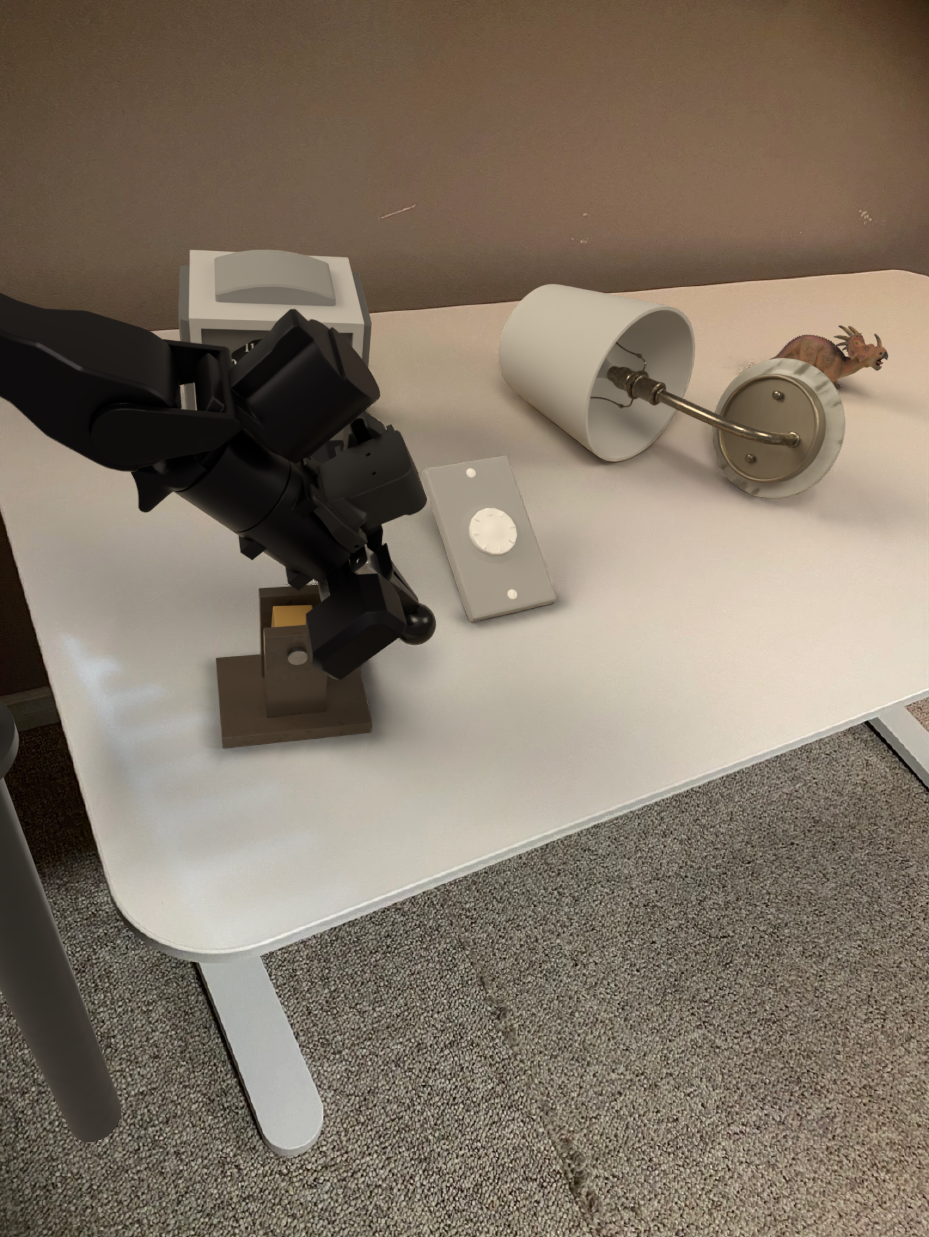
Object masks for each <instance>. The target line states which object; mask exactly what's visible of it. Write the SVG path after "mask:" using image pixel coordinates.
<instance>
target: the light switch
mask: <svg viewBox="0 0 929 1237" xmlns="http://www.w3.org/2000/svg"><path fill="white" fill-rule="evenodd" d="M420 477H421V480H422V484H423V487H424V490H425V493H426V496H427V499H428V501H429V504H430V506H431V510H432V513H433V516H434V519H435V522H436V525H437V528H438V531H439V534H440V537H441V540H442V543H443V546H444V549H445V552H446V555H447V559H448V561H449V564H450V567H451V570H452V571H451V572H452V574H453V577H454V580H455V583H456V586H457V589H458V592H459V594H460V598H461V601H462V604H463V608H464V609H465V613H466V617H467V620H468V622H469V623H476V622H477V623H478V622H481V621H485V620H489V619H494V618H497V617H501V616H505V615H510V614H513V613H514V614H515V613H518V612H522V611H526V610H530V609H534V608H539V607H544V606H547V605H552V604H553V603H554V602H555V601H557V599H558V597H557V594H556V591H555V588H554V585H553V582H552V579H551V576H550V574H549V570H548V569H547V568H548V567H547V565H546V562H545V559H544V557H543V554H542V550H541V549H540V546H539V543H538V542H539V541H538V540H537V537H536V534H535V531H534V529H533V525H532V522H531V519H530V517H529V514H528V510H527V508H526V505H525V502H524V499H523V497H522V494H521V491H520V488H519V485H518V483H517V480H516V476H515V474H514V471H513V468H512V466H511V462H510V459H509V457H508V456H507V455H499V456H493V457H488V458H481V459H475V460H468V461H462V462H456V463H451V464H445V465H438V466H433V467H432V466H431V467H426V468H424V469H423V470H422V471H421V475H420Z"/></svg>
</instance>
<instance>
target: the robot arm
mask: <svg viewBox="0 0 929 1237" xmlns="http://www.w3.org/2000/svg"><path fill="white" fill-rule="evenodd" d="M190 383H194V384H195V396H196V408H197V410H187V409H182V392H181V389H182V388H181V386H184V385H185V384H190ZM0 398H1V399H3V400H5V401H6V402H8V403H9V404H11V405H12V406H13V407H14V408H16V410H17V411H19V412H20V413H21V414H22V415H23V416H24V417H25V418H26V419H28V421H29V422H31V423H32V424H33V426H35V427H36V428H37V429H38V430H39V431H40V432H41V433H42V434H44V435H45V436H46V437H47V438H49V439H51V440H53V441H55V442H57V443H58V444H61V445H62V446H64V447H66V448H67V449H69V450H70V451H73V452H74V453H77V454H79V455H80V456H82V457H84V458H86V459H88V460H90V461H91V462H93V463H95V464H97V465H99V466H101V467H104V468H106V469H109V470H114V471H118V472H123V473H124V472H127V473H130V475H131V476H132V479H133V480H134V483H135V486H136V489H137V504H138V505H137V506H138V507H137V508H138V510H139V511H140V512H142V513H145V514H147V513H150V512H151V511H152V510H154V509H155V508H156V507H157V506H158V505H159V504H160V503H162V502H163V501H164V500H165V499H167V497H168V496H169V495H171V494H173V493H174V494H176V495H177V496H179V497H181V498H182V499H183V500H185V501H186V502H188V503H190V504H191V505H192V506H194V507H195V508H197V509H199V510H200V511H202V512H203V513H204V514H206V515H207V516H208V517H210V518H212V519H214V520H215V521H216V522H218V523H219V524H221V525H222V526H224V527H226V528H227V529H228V530H230V531H231V532H232V533H234V534H235V535H237V536H238V543H239V544H238V545H239V552H240V554H242V555H243V556H244V557H246V558H248V559H249V560H251V561H254V560H255V559H256V558H258V556H260V555H261V554H262V553H264V554H265V555H267V556H268V557H270V558H271V559H272V560H274V561H276V562H277V563H279V564H280V565H282V566H283V567H284V569H285V576H286V581H287V582H286V583H287V585H288V586H292V587H294V588H295V589H297V590H298V591H299V590H300V589H302V588H303V587H304V586H306V585H309V583H311V582H312V581H315V582H317V584H318V587H319V592H320V598H321V602H320V603H319V604H318V605H317V606H315V607H314V608H313V609H311V610H310V611H309V612H307V613H306V625H305V628H306V634H307V640H308V646H309V652H310V657H311V663H312V667H313V668H315V669H317V670H319V671H320V672H322V673H324V674H325V675H327V676H329V677H330V678H332V679H336V680H342V679H343V678H344V677H346V676H347V675H349V674H350V673H351V672H353V671H354V670H355V669H357V668H358V667H360V668H361V666H362V665H364V664H366V663H367V662H368V661H370V660H371V659H372V658H374V657H375V656H376V655H378V654H379V653H380V652H382V651H383V650H385V649H386V648H387V647H390V645H391V644H393V643H394V642H395V641H397V640H399V638H400V637H401V636H402V634H403V632H404V629H405V627H406V625H407V624H406V620H405V616H404V614H410V613H412V612H414V611H415V610H416V609H418V608H419V607H420V603H421V602H420V600H419V597H418V595H417V594H416V593H415V592H414V589H413V588H412V587H411V586H410V585H409V583H408V581H407V580H406V578H404V576H403V574H402V573H401V571H400V570H399V569H398V568H397V566H396V565H395V563H394V561H393V560H392V557H391V554H390V549H389V546H388V543H387V542H385V543H383V539H384V528H383V525H384V524H386V523H388V522H391V521H394V520H396V519H399V518H402V517H404V516H413V515H414V514H417V513H419V512H421V511H422V510H423V509H424V508H425V507H426V505H427V503H428V496H427V493H426V490H425V488H424V485H423V482H422V479H421V478H420V477H421V476H420V474H419V471H418V468H417V466H416V464H415V461H414V459H413V457H412V454H411V452H410V451H409V448H408V446H407V443H406V442H405V439H404V437H403V435H402V433H401V432H400V431H399V430H397V429H395V427H394V426H393V424H391V423H390V424H388V425H386V426H385V424H384V423H382V421H380V420H379V419H378V418H376V417H374V416H373V415H371V414H370V413H369V412H367V410H368V409H369V408H370V407H371V406H372V405H373V404H375V403H376V402H377V401H378V400H380V398H381V390H380V387H379V385H378V382H377V380H376V378H375V376H374V375H373V373H372V372H371V370H370V368H369V367H367V365H366V364H365V363H364V361H363V360H362V358H361V357H360V356H359V355H358V353H357V352H356V351H355V350H354V348H353V347H352V346H351V345H350V344H349V343H348V342H347V341H346V339H345V338H344V337H343V336H342V335H341V334H340V333H339V332H338V331H336V330H335V329H334V328H333V327H331V328H330V329H329V328H328V327H327V326H325V325H324V324H323V323H321V322H319V321H317V320H314V319H310V320H307V319H306V318H305V317H304V316H303V315H301V314H300V313H299V312H298V311H297V310H296V309H290V310H289V311H288V312H287V313H285V314H284V315H283V316H282V317H281V318H280V319H279V320H278V321H277V322H276V323H275V325H274V326H273V328H272V329H271V331H270V332H269V333H268V334H267V336H266V337H264V338H263V339H262V340H261V341H260V342H259V343H258V344H257V345H256V346H255V347H254V348H252V349H251V350H250V351H249V352H248V353H247V354H246V355H245V356H244V357H243V358H241V359H240V360H239V361H238V362H237V363H236V364H235V365H234V364H232V357H231V351H230V349H229V348H227V347H224V346H216V345H208V344H200V343H192V342H183V341H180V340H175V339H166V338H161V337H160V336H158V335H157V334H156V333H154V332H153V331H151V330H148V329H145V328H143V327H140V326H138V325H134V324H131V323H128V322H125V321H121V320H118V319H115V318H111V317H108V316H106V315H102V314H98V313H95V312H93V311H89V310H85V309H83V310H81V309H63V308H62V309H59V308H45V307H40V306H37V305H33V304H30V303H27V302H23V301H20V300H18V299H15V298H13V297H11V296H8V295H6V294H5V293H3V292H0ZM342 429H344V434H343V440H330V439H332V438H333V437H334V436H335V435H336V434H338V433H339V432H340V431H341V430H342Z"/></svg>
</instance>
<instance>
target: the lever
mask: <svg viewBox="0 0 929 1237" xmlns="http://www.w3.org/2000/svg"><path fill="white" fill-rule="evenodd" d="M419 603H420V607H419V608H418V609H416V610H415V611H414V612H412V613H410V614H404V616H405V620H406V624H407V625H406V627H405V629H404V632H403V634H402V636H401V637H400V638H398V640H400V641H401V642H403V643H404V644H406V645H410V646H421V645H423V644H425V643H427V642H428V641H430V640H431V639H432V637H433V636H434V634H435V632H436V628H437V618H436V616H435V613H434V612H433V610H432V609H431V608H430V607H429V606H428V605H426V604H424V603H421V602H419ZM311 609H313V608H312V605H297V606H273V611H272V624H271V627H282V626H295V625H306V613H307V612H309V611H310V610H311Z"/></svg>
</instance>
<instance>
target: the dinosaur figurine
mask: <svg viewBox="0 0 929 1237" xmlns="http://www.w3.org/2000/svg"><path fill="white" fill-rule="evenodd" d="M838 328H840V329H841V330H843V332H845V333H846V334H847V335H841V334H840V335H838V334H837V335H834V336H833V338H835V339H838V340H842V342H839V343H836V344H835V343H834V342H833V340H830V339H828V338H826V337H824V336H820V335H815V334H801V335H797V336H796V337H794V338H792V340H790V341H788V342H787V343H786V344H785V345H784V346H783V347H782V348H781V350H780V351H779V352H778V353H777V354H776V355H774V356H773V357H771V358H769V359H768V360H770V359H776V358H789V359H796V360H800V361H803V362H806V363H808V364H810V365H812V366H814V367H816V368H817V369H819V370H820V371H821V372H823V373H824V374H825V375H826V376H827V377H828V378H829V379H830V380H831V382H832V383H833V384H834V386H835V387H836V389H841V388H842V387H841V384H840V383H838V382H837V381H838V380H839V379H842V378H845V377H848V376H851V375H854V374H856V373H857V372H858V371H860V370H862V369H863V368H866V369H867V368H871V369H873V370H874V371H876V372H877V371H880V370H881V369H882V368H883V366H882V365H883V364H884V362H883V360H886V361H888V360H889V353H888V351H887V349H886V348H885V347H884V346H883V343H882V340H881V337H880V336H879V335H878V334H877V333H874V334H873V336H874V337H875V339H876V346H875V344H874V343H867V344H866V341H865V338H864V336H863V335H862V332H859V331H858V330H857V329H856V328H855V327H853V326H851V325H848V327H845V326H843V325H840V324H839V325H838ZM840 347H842V349H841V348H840ZM844 351H845V352H846V353H847V356H846V355H845V353H844Z"/></svg>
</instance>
